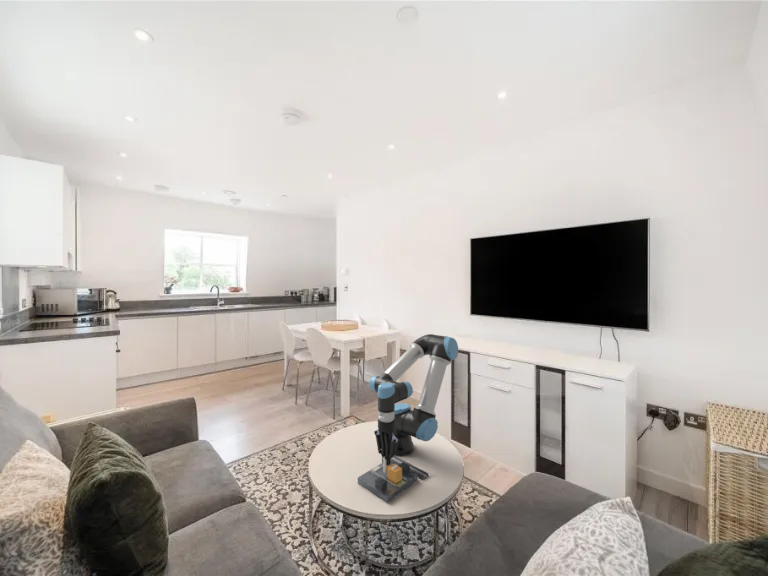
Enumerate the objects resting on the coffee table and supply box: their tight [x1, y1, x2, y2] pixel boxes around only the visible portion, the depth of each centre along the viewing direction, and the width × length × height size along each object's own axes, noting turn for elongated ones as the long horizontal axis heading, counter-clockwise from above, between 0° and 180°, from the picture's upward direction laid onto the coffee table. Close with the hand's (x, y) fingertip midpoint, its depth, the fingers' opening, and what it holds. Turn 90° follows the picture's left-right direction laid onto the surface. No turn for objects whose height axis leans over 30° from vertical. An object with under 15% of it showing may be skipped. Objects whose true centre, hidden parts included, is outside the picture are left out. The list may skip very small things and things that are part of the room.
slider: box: [387, 464, 402, 484], centre depth 139 cm, size 4×5×6 cm
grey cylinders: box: [390, 455, 429, 480], centre depth 151 cm, size 5×21×1 cm, turn 46°
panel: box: [357, 460, 419, 504], centre depth 141 cm, size 20×18×6 cm
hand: (386, 470), depth 142 cm, fingers closed
